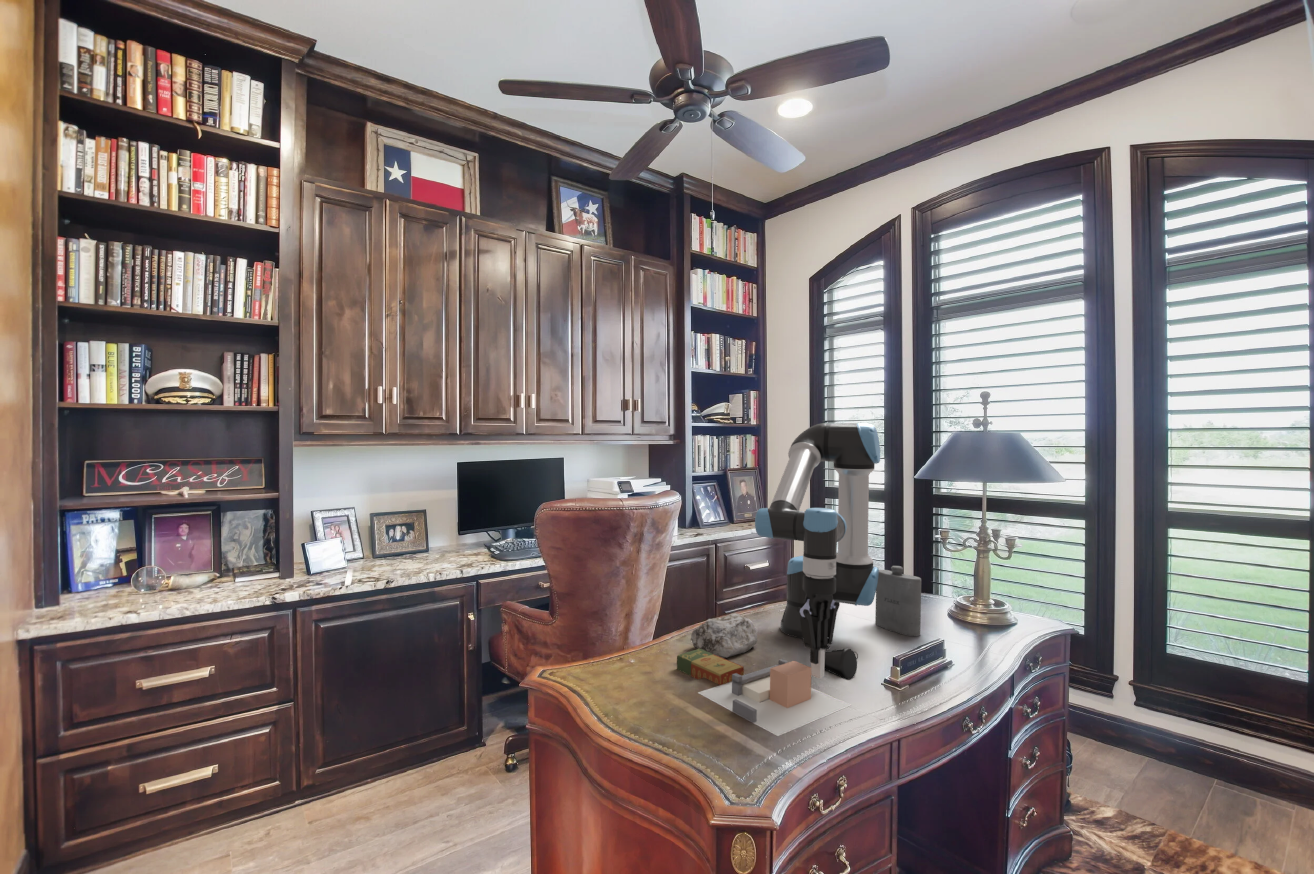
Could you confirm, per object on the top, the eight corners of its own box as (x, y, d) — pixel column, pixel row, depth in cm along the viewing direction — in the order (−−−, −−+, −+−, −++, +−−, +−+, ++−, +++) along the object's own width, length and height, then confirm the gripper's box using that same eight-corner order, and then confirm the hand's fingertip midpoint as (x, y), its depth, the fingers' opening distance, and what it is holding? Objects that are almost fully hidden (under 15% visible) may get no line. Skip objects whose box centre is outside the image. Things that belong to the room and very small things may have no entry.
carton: (719, 692, 139) (720, 673, 139) (675, 670, 151) (675, 653, 151) (744, 683, 144) (744, 665, 144) (699, 663, 157) (699, 646, 157)
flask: (870, 624, 192) (871, 563, 192) (881, 621, 195) (882, 561, 195) (912, 638, 179) (913, 572, 179) (923, 634, 183) (924, 570, 183)
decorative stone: (734, 629, 180) (736, 600, 177) (767, 651, 170) (770, 620, 167) (686, 652, 168) (687, 620, 165) (719, 677, 158) (721, 644, 155)
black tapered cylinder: (842, 681, 145) (812, 676, 151) (879, 673, 156) (850, 669, 163) (841, 649, 146) (811, 645, 152) (877, 643, 158) (848, 640, 164)
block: (769, 699, 132) (770, 668, 132) (793, 690, 136) (793, 660, 137) (787, 707, 128) (787, 675, 128) (810, 698, 132) (811, 667, 133)
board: (697, 697, 135) (697, 674, 135) (769, 674, 149) (769, 652, 149) (777, 742, 115) (778, 714, 115) (851, 710, 130) (852, 685, 130)
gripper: (814, 581, 131) (812, 688, 131) (850, 574, 139) (848, 675, 139) (788, 575, 137) (786, 677, 137) (823, 568, 145) (821, 665, 145)
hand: (817, 676), depth 138 cm, fingers closed
